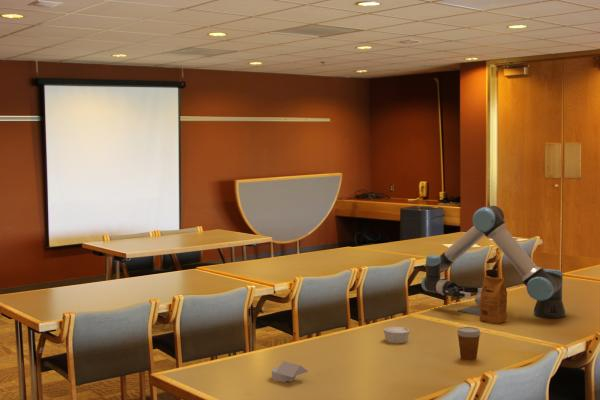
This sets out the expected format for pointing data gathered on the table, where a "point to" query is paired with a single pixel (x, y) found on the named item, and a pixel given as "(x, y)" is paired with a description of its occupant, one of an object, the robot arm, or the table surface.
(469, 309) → the mat
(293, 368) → the grey angular block
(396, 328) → the ramekin
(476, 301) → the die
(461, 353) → the disposable coffee cup
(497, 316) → the coffee package
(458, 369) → the table surface
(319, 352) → the table surface
